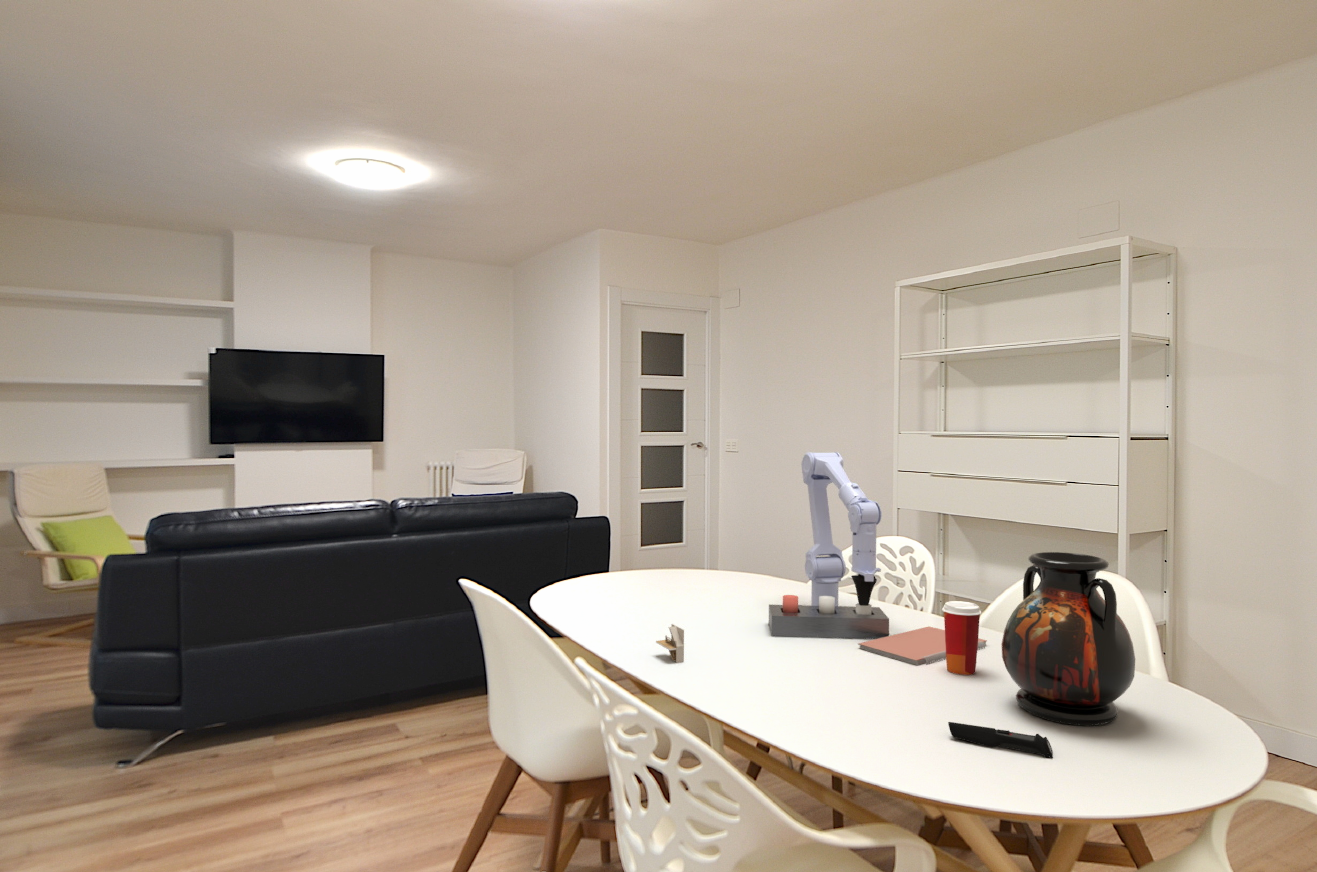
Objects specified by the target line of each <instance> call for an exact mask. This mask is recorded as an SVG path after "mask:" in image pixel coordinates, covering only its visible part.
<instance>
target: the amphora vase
mask: <svg viewBox="0 0 1317 872" xmlns="http://www.w3.org/2000/svg"><path fill="white" fill-rule="evenodd" d="M1028 562H1030V563H1031V566H1028V567H1027V568H1026V571H1025V573H1024V576H1023V581H1022V582H1023V583H1022V591H1023V592H1022V593H1023V594H1022V595H1023V597H1022V601H1021V602H1020V603H1019V604H1018V605H1017V606H1016V607H1015V609H1014V610H1013V611H1012V612H1011V615H1010V616H1009V618H1008V620H1007V622H1006V625H1005V627H1004V630H1003V635H1002V640H1001V658H1002V661H1003V665H1004V667H1005V669H1006V671H1007V673H1008V674H1009V676H1010V677H1011V679H1012V680H1013V682H1014V683H1015V684H1016V685H1017V686H1018V687H1019V688H1020V689H1018V691H1017V692H1016V693H1015V700H1016V702H1017V704H1018V706H1019V707H1021V708H1022V709H1023V710H1025V711H1027V713H1029V714H1032V715H1034V716H1036V717H1039V718H1042V719H1043V720H1047V721H1051V722H1056V723H1059V724H1065V725H1073V726H1086V727H1087V726H1100V725H1104V724H1108V723H1111V722H1113V720H1115V719H1116V718H1117V717H1118V714H1119V709H1118V707H1117V705H1116V704H1115V703H1114V702H1115V701H1116V700H1118V699H1119V698H1120V697H1121V696H1123V695H1124V694H1125V693H1126V691H1127V690H1128V689H1129V688H1130V687H1131V685H1132V683H1133V681H1134V678H1135V670H1136V669H1135V668H1136V653H1135V648H1134V643H1133V640H1132V637H1131V635H1130V632H1129V630H1128V628H1127V626H1126V623H1125V622H1124V621H1123V619H1122V618H1121V617H1120V615H1119V614H1118V611H1117V608H1118V605H1117V604H1118V601H1117V594H1116V591H1115V589H1114V587H1113V584H1112V583H1111V582H1109V581H1108V580H1107V579H1104V578H1099V577H1097V578H1096V576H1097V573H1099V572H1100V571H1102V572H1103V571H1105V570H1107V569H1108V568H1109V562H1108V561H1107V560H1105V559H1104V558H1101V557H1098V556H1094V555H1088V554H1083V553H1076V552H1075V553H1074V552H1062V551H1061V552H1059V551H1056V552H1055V551H1049V552H1048V551H1046V552H1043V551H1042V552H1036V553H1032V554H1030V555H1029V557H1028ZM1037 574H1038V577H1039V579H1040V581H1039V584H1038V585H1037V587H1036V588H1035V589H1034V583H1035V576H1036V575H1037ZM1099 587H1100V588H1101V591H1102V593H1103V597H1104V598H1103V597H1102V595H1101V594H1100V593H1099V591H1098V590H1097V589H1098V588H1099Z"/></svg>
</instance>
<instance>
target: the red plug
mask: <svg viewBox="0 0 1317 872" xmlns="http://www.w3.org/2000/svg"><path fill="white" fill-rule="evenodd" d="M782 605H783V612H784V613H798V605H799V596H798V595H794V594H785V595H782Z"/></svg>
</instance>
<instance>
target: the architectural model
mask: <svg viewBox="0 0 1317 872" xmlns="http://www.w3.org/2000/svg"><path fill="white" fill-rule="evenodd" d="M668 629H669V632H670V634H671V635H670V637H669V636H667V634H665V636H664V637H665V639H660V640H656V641H655V643H656V644H658V645H660V646H661V647H663V648H664V649H666V650H668V652H669V655H670V658H671V660H672V661H674V660H675V662H676V664H680V663H684V662H685V629H683V628H681V627H679V626H677V625H675V624H674V623H671V626H668Z"/></svg>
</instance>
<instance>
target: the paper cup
mask: <svg viewBox="0 0 1317 872" xmlns="http://www.w3.org/2000/svg"><path fill="white" fill-rule="evenodd" d="M980 608H981V607H980V606H979V605H978V604H976V603H974V602H968V601H960V600H952V601H946V602H945V604H944V605H943V607H942V609H941V611H942V612H943V617H944V620H943V621H944V630H945V644H946V658H945V661H946V670H947V672H949V673H951V674H955V675H961V676H972V675H974V674H975V673H976V667H977V655H978V650H977V648H978V638H979V632H980V629H979V628H980V619H981V617H980V616H981V614H982V611H981V609H980ZM978 649H979V648H978Z"/></svg>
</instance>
